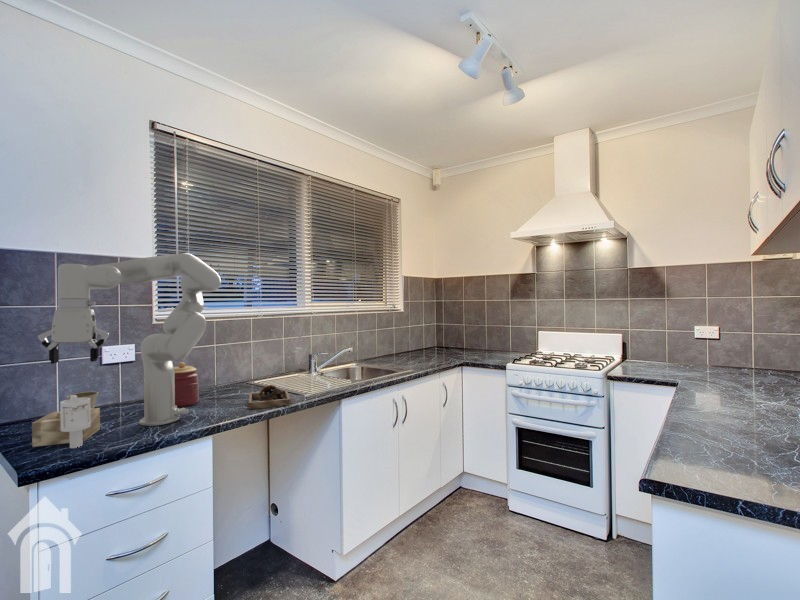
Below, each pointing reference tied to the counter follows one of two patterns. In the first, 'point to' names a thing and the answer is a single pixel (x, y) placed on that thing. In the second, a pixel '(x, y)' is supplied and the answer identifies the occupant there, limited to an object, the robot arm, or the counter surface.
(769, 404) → the counter surface
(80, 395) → the flower pot
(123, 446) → the counter surface
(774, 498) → the counter surface
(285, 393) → the wooden tray
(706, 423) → the counter surface
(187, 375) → the canister
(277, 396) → the dark brown rounded lump
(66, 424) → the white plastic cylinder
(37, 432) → the beech holder block
